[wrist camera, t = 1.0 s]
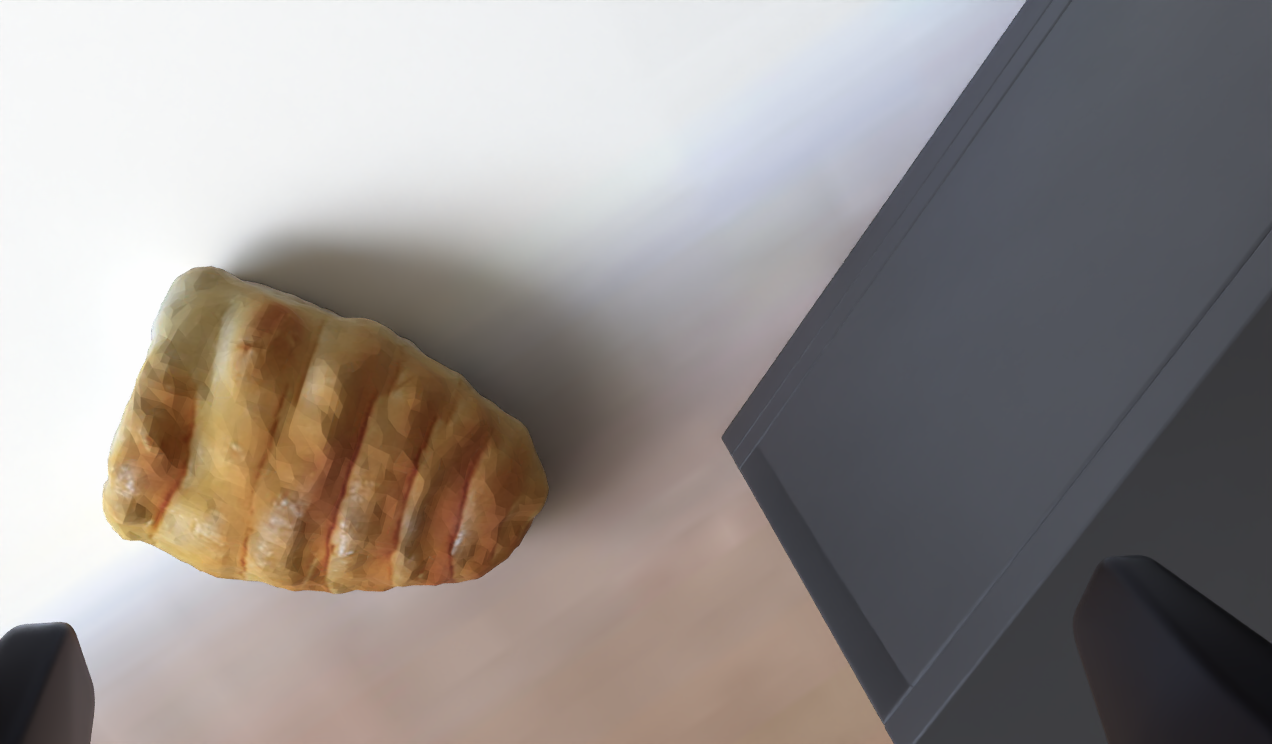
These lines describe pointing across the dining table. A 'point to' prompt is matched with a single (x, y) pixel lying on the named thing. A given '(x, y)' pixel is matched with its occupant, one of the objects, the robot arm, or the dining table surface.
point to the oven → (1039, 370)
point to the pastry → (312, 449)
